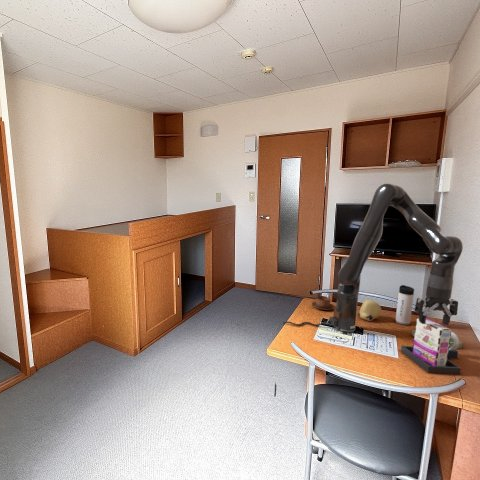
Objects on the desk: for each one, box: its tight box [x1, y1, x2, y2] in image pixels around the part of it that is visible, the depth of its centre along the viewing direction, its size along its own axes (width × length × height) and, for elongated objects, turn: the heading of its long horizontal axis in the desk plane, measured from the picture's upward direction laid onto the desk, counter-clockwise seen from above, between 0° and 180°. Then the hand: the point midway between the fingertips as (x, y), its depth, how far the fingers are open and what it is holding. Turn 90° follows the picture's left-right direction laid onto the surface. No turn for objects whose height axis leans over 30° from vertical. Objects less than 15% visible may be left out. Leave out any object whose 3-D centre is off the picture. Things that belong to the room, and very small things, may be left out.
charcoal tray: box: [400, 345, 462, 375], centre depth 132 cm, size 12×17×3 cm
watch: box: [447, 331, 461, 360], centre depth 136 cm, size 6×8×11 cm
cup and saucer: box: [311, 295, 335, 311], centre depth 190 cm, size 12×12×6 cm
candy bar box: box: [412, 317, 453, 366], centre depth 130 cm, size 11×5×16 cm, turn 5°
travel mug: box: [395, 284, 415, 326], centre depth 168 cm, size 6×7×20 cm
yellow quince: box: [357, 299, 382, 322], centre depth 174 cm, size 10×12×11 cm
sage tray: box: [411, 330, 463, 349], centre depth 148 cm, size 14×12×3 cm
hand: (433, 323), depth 129 cm, fingers open, 8 cm apart
